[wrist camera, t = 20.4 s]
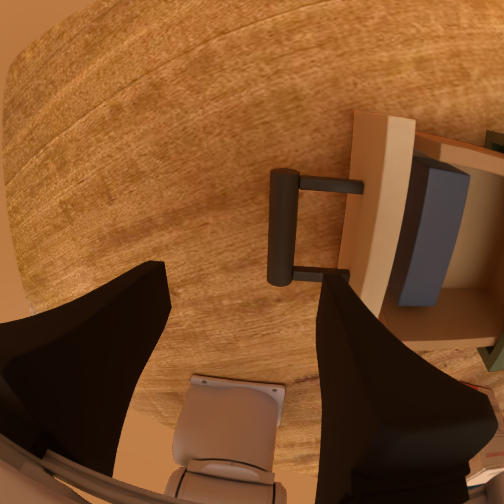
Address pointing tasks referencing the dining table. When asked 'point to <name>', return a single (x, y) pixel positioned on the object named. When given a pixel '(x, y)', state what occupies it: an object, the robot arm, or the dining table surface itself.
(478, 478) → the ink box
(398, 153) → the drawer
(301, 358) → the dining table surface
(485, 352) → the cabinet
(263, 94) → the dining table surface
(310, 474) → the dining table surface
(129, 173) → the dining table surface
